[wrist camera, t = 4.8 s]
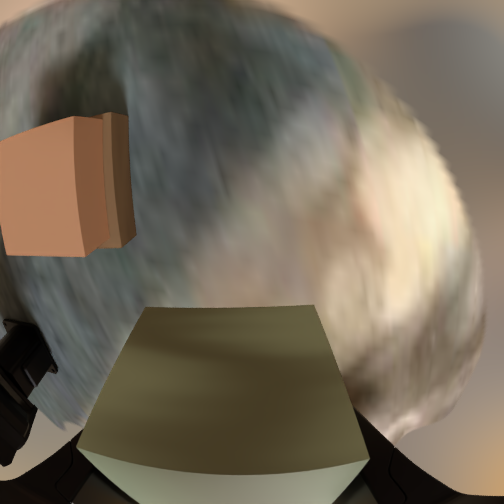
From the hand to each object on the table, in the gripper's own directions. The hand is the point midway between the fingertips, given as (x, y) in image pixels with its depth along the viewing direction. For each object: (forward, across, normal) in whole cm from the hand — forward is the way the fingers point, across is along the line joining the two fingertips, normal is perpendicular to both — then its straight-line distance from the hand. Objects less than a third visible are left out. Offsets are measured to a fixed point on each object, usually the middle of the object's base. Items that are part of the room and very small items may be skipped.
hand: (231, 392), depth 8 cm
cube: (+1, 0, 0) cm, 1 cm away
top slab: (+8, +11, -6) cm, 15 cm away
